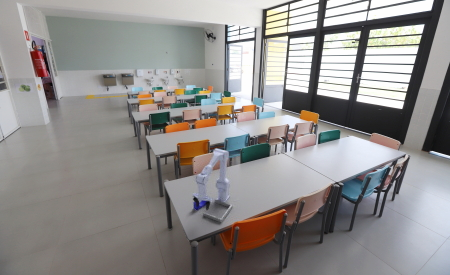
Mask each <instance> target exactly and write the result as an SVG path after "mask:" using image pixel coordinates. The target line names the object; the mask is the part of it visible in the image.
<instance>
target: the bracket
mask: <svg viewBox="0 0 450 275" xmlns="http://www.w3.org/2000/svg"><path fill="white" fill-rule="evenodd" d="M216 199H217V198H215V199H214V204H217V205H221V206H224V207H226V208H227V207H228V208H227V209H226V211H225V213H224V214H223V215H222V216H221V217H218V216H215V215H212V214H210V213H207V212H203V213H202V216H203V217H205V218H208V219H209V220H213V221H216V222H217V223H223V221H224V220H225V218H226V217H227V215H228V214H229V213H230V212H231V210H232V209H233V204H231V203H228V202H227V201H226V202H223V201H220V200H216Z"/></svg>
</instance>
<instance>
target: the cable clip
mask: <svg viewBox="0 0 450 275" xmlns="http://www.w3.org/2000/svg"><path fill="white" fill-rule="evenodd" d="M206 202H207V201H204V200H201V201H199V206H198V207H197V206H196V203H195V202H194V201H193V209H194V210H195V211H198V210H200V209H202V208H204V207H206V205H205V203H206Z"/></svg>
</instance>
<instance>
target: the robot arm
mask: <svg viewBox="0 0 450 275" xmlns="http://www.w3.org/2000/svg"><path fill="white" fill-rule="evenodd" d="M229 154H230V152H229V151H228V150H223V149H221V148H217V147H216V148H214V149H213V151H212V157H211V159H210V161H209V163H208V164H207V165H205V166H204V167H203V169H202V170H201V172H200V173H198V174H197V175H196V176H195V183H196V185H197V193H196V192H193V193H192V197H193V198H192V201H193V202H195V203H196V206H197V207H198V206H199V202H201V200H204V201H207V202H206V203H205V211H209V209H210V205H211V204H212V203H213V198H211V196H208V193H207V188H208V187H207V185H208V182H209V178H210V176H211V174H212V172H213V168H214V166H215V165H216V164H217V163H218V161H219V177H218V178H217V179H216V182H215V187H216V189H217V198H215V199H216V200H220V201H223V202H226V203H227V201H228V199H230V190H229V189H230V187H231V185H230V179H228V178H227V170H228V169H227V165H228V160H229V157H230V156H229Z"/></svg>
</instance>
